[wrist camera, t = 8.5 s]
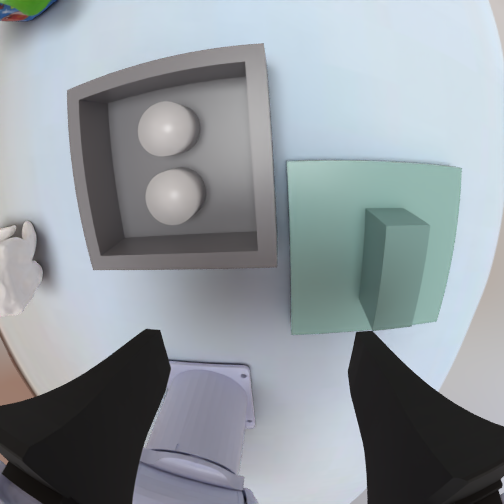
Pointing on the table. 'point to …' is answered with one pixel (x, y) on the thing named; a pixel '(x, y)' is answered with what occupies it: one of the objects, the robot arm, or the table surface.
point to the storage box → (177, 163)
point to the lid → (369, 243)
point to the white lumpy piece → (18, 269)
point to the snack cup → (22, 9)
